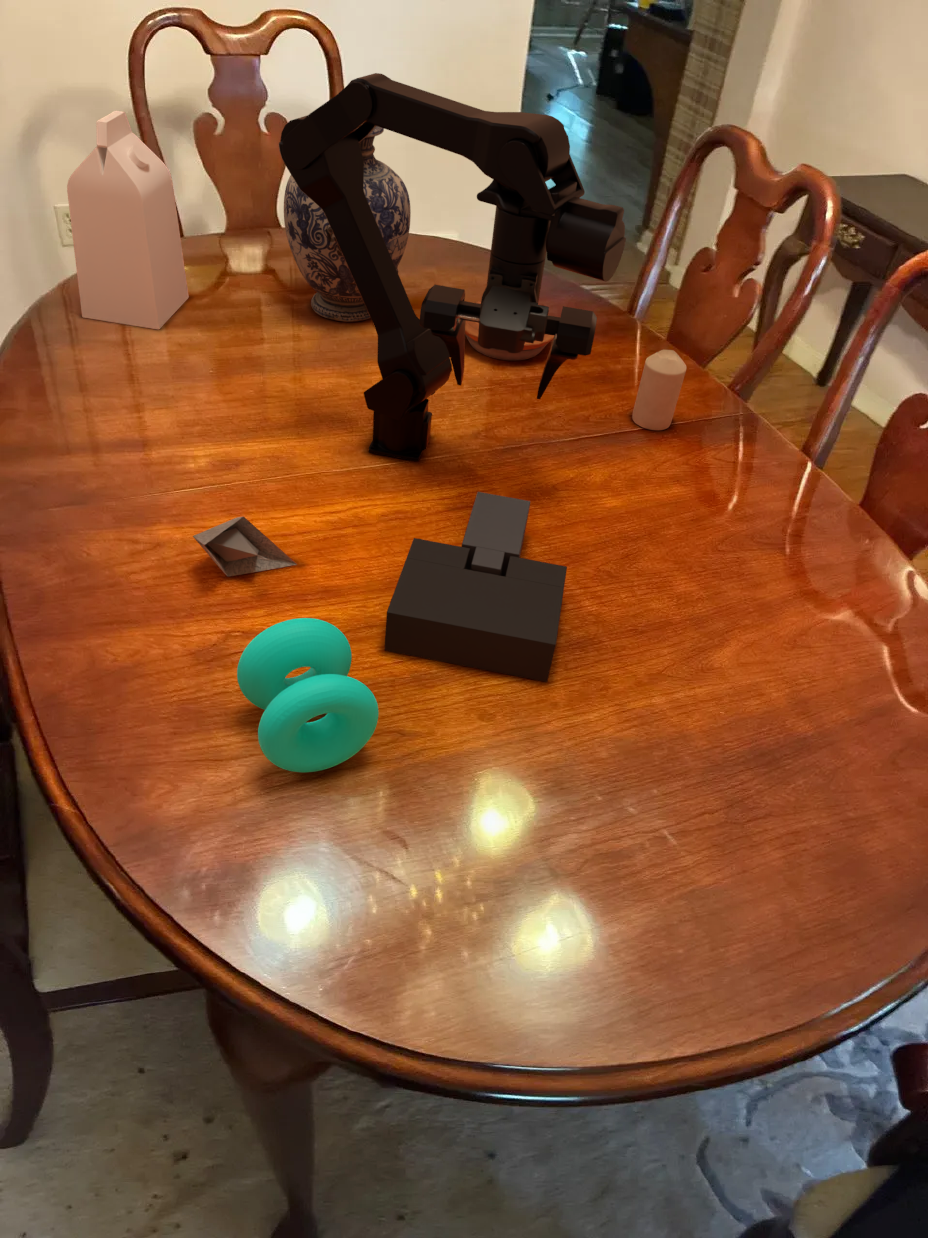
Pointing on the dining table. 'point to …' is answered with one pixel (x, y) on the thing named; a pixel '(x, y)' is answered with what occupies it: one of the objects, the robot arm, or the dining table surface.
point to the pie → (526, 353)
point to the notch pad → (476, 611)
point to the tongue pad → (495, 532)
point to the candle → (659, 390)
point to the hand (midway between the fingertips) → (499, 390)
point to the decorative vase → (320, 246)
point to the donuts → (306, 695)
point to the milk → (126, 231)
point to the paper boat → (241, 548)
